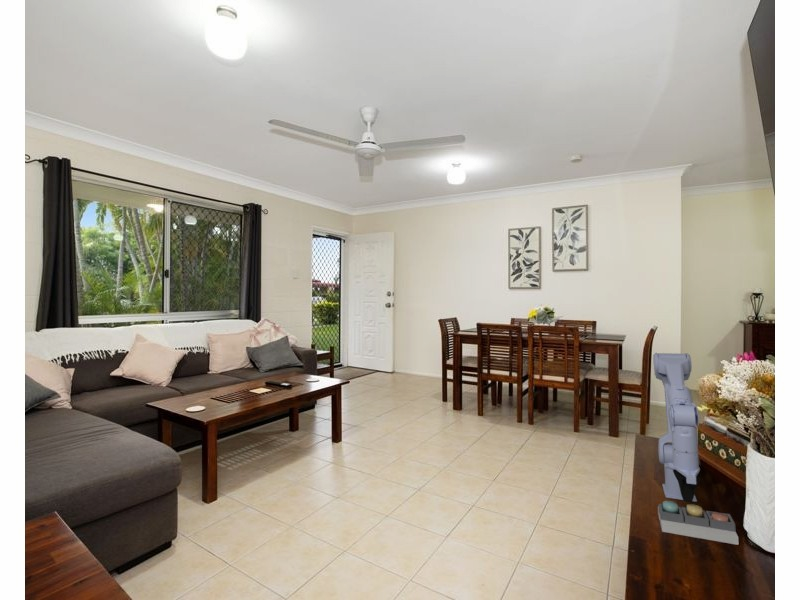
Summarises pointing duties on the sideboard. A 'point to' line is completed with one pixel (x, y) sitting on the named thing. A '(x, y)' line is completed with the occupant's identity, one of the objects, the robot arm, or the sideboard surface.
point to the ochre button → (694, 510)
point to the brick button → (719, 516)
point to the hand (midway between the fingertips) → (687, 499)
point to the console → (698, 525)
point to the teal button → (670, 507)
